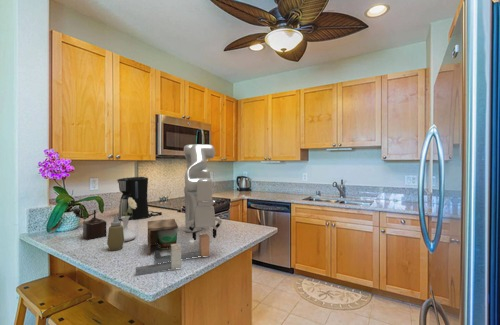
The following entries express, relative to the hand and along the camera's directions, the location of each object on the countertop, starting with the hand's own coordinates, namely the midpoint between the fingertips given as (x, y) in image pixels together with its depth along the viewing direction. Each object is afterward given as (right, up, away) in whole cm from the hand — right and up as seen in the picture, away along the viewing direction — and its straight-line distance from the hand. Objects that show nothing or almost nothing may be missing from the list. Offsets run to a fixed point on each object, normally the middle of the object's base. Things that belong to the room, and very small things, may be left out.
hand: (204, 238), depth 119 cm
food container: (-22, -9, +12) cm, 27 cm away
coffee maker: (-70, -9, +81) cm, 107 cm away
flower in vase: (-51, -9, +25) cm, 58 cm away
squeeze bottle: (-49, -9, +9) cm, 51 cm away
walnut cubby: (-25, -9, +11) cm, 29 cm away
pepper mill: (-76, -9, +29) cm, 82 cm away
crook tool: (-11, -9, 0) cm, 14 cm away
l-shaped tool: (-17, -9, -16) cm, 25 cm away
